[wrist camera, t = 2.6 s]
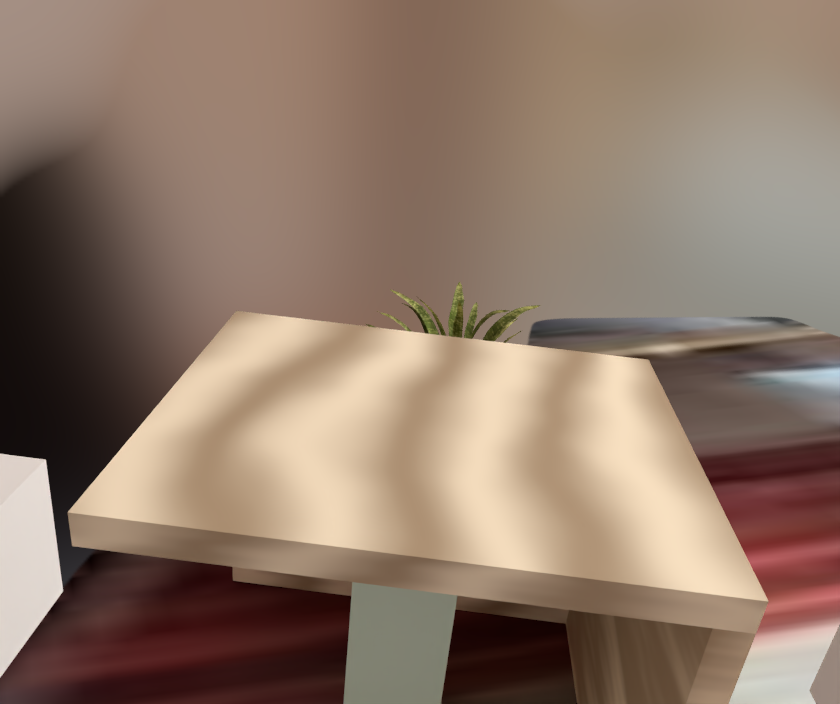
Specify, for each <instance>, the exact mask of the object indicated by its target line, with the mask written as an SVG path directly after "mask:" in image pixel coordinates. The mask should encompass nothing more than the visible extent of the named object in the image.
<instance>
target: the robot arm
mask: <svg viewBox="0 0 840 704" xmlns="http://www.w3.org/2000/svg"><path fill="white" fill-rule="evenodd" d="M62 592H63V586H62V579H61V572H60V564H59V556H58V549H57V541H56V533H55V527H54V519H53V511H52V503H51V496H50V488H49V481H48V473H47V466H46V460H43V459H36V458H28V457H20V456H13V455H5V454H0V677H1V676H2V675H3V673H4V672H5V670H6V669H7V668H8V666H9V665H10V664H11V662H12V661H13V659H14V658H15V657H16V655H17V654H18V653H19V651H20V650H21V648H22V647H23V646H24V644H25V643H26V642H27V640H28V639H29V637H30V636H31V635H32V633H33V632H34V631H35V629H36V628H37V626H38V625H39V624H40V622H41V621H42V620H43V618H44V617H45V615H46V614H47V613H48V611H49V610H50V609H51V607H52V606H53V604H54V603H55V602H56V600H57V599H58V598H59V596H60V595H61V593H62ZM810 692H811V694H812V696H813V698H814V700H815V702H816V704H840V625H839V627H838V630H837V632H836V634H835V636H834V638H833V640H832V643H831V645H830V647H829V649H828V651H827V653H826V656H825V658H824V660H823V662H822V664H821V666H820V669H819V671H818V673H817V675H816V677H815V679H814V682H813V684H812V686H811V688H810Z"/></svg>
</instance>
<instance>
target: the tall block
mask: <svg viewBox="0 0 840 704" xmlns="http://www.w3.org/2000/svg"><path fill="white" fill-rule="evenodd" d="M456 602H457V595H449V594H441V593H433V592H426V591H418V590H410V589H402V588H395V587H387V586H379V585H371V584H363V583H356V582H352V595H351V608H350V622H349V635H348V649H347V662H346V676H345V690H344V703H343V704H441V699H442V693H443V686H444V680H445V673H446V667H447V660H448V654H449V647H450V641H451V634H452V628H453V621H454V615H455V608H456Z"/></svg>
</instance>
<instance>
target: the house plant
mask: <svg viewBox="0 0 840 704" xmlns="http://www.w3.org/2000/svg"><path fill="white" fill-rule="evenodd" d="M391 291H392V290H391ZM392 292H394V293H395V294H397V295H398V296H400V297H401V298H403V299H404V300H405V301H407V302H408V303H409V304H410V305H411V306H412V307H413V308H412V307H410V306H409V307H410V308H411V309H412V310H413V311H414V312H415V313H416V315H417V316H418V318H419V319H420V321H421V323H422V326H423V329H424V331H425V333H426V334H429V333H430V334H435V335H439V333H438V331H437V329H436V326H435V324H434V322H433V321H432V319H431V317H430V316H429V314H428V313H427V312H426V310H425V309H424V308H423V307H422V306H421V305H419V304H418V303H417V302H415V301H413V300H412V299H410V298H408V297H406V296H404V295H403V294H401V293H399V292H396V291H392ZM422 302H423V301H422ZM423 303H424V302H423ZM463 303H464V299H463V292H462V285H461V284H460V282H459V283H458V285H457V287H456V291H455V294H454V299H453V304H452V308H451V312H450V317H449V336H451V337H460V338H462V327H463ZM424 304H425V303H424ZM405 305H406V304H405ZM425 305H426V304H425ZM407 306H408V305H407ZM426 306H427V305H426ZM477 306H478V305H477V303H476V304H474V306H473V308H472V310H471V313H470V316H469V320H468V323H467V326H466V330H465V335H464V338H468V339H472V338H473V337H474V335H475V333H476V331H477V330H478V329H479V327H480V326H481V325H482V324H483V323H484V322H485V321H486V320H487V319H488V318H489V317H491V316H492V315H494V314H496V313H501V312H507V311H506V310H498V311H493V312H491V313H489V314H487V315H486V316H485V317H484V318H483V319H481V321H480V322H479V323H478V325H477V326H476V328H475V329H474V331H473V328H474V325H475V321H476V318H477ZM427 307H428V306H427ZM537 307H539V306H526V307H521V308H518V309H515V310H513V311H511V312H509V313H507V314H506V315H505V316H503V317H502V318H500V319H499V320H498V321H497V322H496V323H495V324H494V325H493V326H492V327H491V328H490V329H489V330H488V332H487V333H486V335H485V337H484V339H483V340H485V341H495V340H496V339H497V338H498V337H499V336H500V335H501V334H502V333H503V332H504V331H505V330H506V329H507V328H508V327H509V326H510V325H511V324H512V323H513V322H514V321H516V320H517V319H516V320H514V319H515V318H516V317H518V316H519V315H520V314H522V313H523V312H525V311H527V310H530V309H534V308H537ZM428 308H429V307H428ZM429 310H430V311H431V312H432V313H433V316H434V318H435V320H436V322H437V324H438V327H439V329H440V332H441V335H443V336H446V335H445V332H444V330H443V327H442V324H441V323H440V321H439V319H438V318H437V316H436V315H435V313H434V312H433V311H432V310H431V309H430V308H429ZM382 314H384V315H386V316H388V317H390V318H392V319H393V320H395V321H396V322H397V323H399V324H400V325H401V326H403V327H404V328H405V329H406V330H407V331H409V332H412V331H411V330H410V329H409V328H408V327H407V326H406V325H404V324H403V323H402V322H400V321H399V320H398V319H396V318H395V317H393V316H391V315H389V314H385V313H382ZM513 320H514V321H513ZM511 321H512V322H511ZM510 322H511V323H510ZM368 326H369V327H374V326H371V325H368ZM375 328H376V327H375ZM427 329H428V330H427ZM428 331H429V333H428ZM472 332H473V333H472ZM520 332H521V331H520ZM515 335H516V334H515ZM515 335H513V336H515ZM513 336H511V337H509V338H508V339H507V340H505V341H504V342H503V343H506V342H507V341H508V340H509V339H510V338H512V337H513Z"/></svg>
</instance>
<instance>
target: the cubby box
mask: <svg viewBox="0 0 840 704" xmlns="http://www.w3.org/2000/svg"><path fill="white" fill-rule="evenodd" d="M68 518H69V526H70V533H71V540H72V546H76V547H83V548H91V549H99V550H107V551H114V552H122V553H130V554H138V555H146V556H153V557H161V558H169V559H177V560H184V561H192V562H200V563H208V564H216V565H223V566H231V567H233V581H238V582H246V583H254V584H262V585H269V586H277V587H285V588H293V589H300V590H308V591H316V592H324V593H331V594H339V595H347V596H351V595H352V582H356V583H363V584H371V585H379V586H387V587H395V588H402V589H410V590H418V591H426V592H433V593H441V594H449V595H457V602H456V608H455V610H463V611H471V612H479V613H486V614H494V615H502V616H510V617H517V618H525V619H533V620H541V621H548V622H556V623H564V624H566V629H567V637H568V644H569V651H570V658H571V665H572V672H573V679H574V686H575V693H576V700H577V704H728V703H729V701H730V698H731V696H732V693H733V691H734V688H735V685H736V683H737V680H738V678H739V675H740V673H741V670H742V668H743V665H744V663H745V660H746V657H747V655H748V652H749V650H750V647H751V645H752V642H753V640H754V637H755V635H756V632H757V629H758V627H759V624H760V622H761V619H762V617H763V614H764V612H765V609H766V607H767V604H768V600H767V598H766V596H765V594H764V592H763V590H762V588H761V586H760V584H759V581H758V579H757V577H756V575H755V573H754V571H753V569H752V567H751V565H750V563H749V561H748V559H747V557H746V555H745V553H744V551H743V549H742V547H741V545H740V543H739V541H738V539H737V537H736V535H735V533H734V531H733V529H732V527H731V525H730V523H729V521H728V519H727V517H726V515H725V513H724V511H723V509H722V507H721V505H720V503H719V501H718V499H717V497H716V495H715V493H714V491H713V489H712V487H711V485H710V483H709V481H708V479H707V477H706V475H705V473H704V471H703V469H702V467H701V465H700V463H699V461H698V459H697V457H696V455H695V453H694V451H693V449H692V447H691V445H690V443H689V441H688V439H687V436H686V434H685V432H684V430H683V428H682V426H681V424H680V422H679V420H678V418H677V416H676V414H675V412H674V410H673V408H672V406H671V404H670V402H669V400H668V398H667V396H666V394H665V392H664V390H663V388H662V386H661V384H660V382H659V380H658V378H657V376H656V374H655V372H654V370H653V368H652V366H651V364H650V362H649V360H645V359H637V358H628V357H620V356H612V355H603V354H595V353H586V352H578V351H569V350H561V349H553V348H544V347H536V346H527V345H518V344H510V343H501V342H494V341H485V340H477V339H468V338H460V337H451V336H443V335H435V334H426V333H418V332H409V331H400V330H392V329H384V328H375V327H367V326H359V325H350V324H341V323H333V322H324V321H316V320H308V319H299V318H291V317H283V316H274V315H265V314H257V313H248V312H241V311H236V312H235V314H234V315H233V316H232V317H231V318H230V319H229V321H228V322H227V323H226V324H225V325H224V327H223V328H222V329H221V330H220V331H219V333H218V334H217V335H216V336H215V337H214V338H213V340H212V341H211V342H210V343H209V345H208V346H207V347H206V348H205V349H204V350H203V352H202V353H201V354H200V355H199V356H198V358H197V359H196V360H195V361H194V362H193V364H192V365H191V366H190V367H189V368H188V369H187V371H186V372H185V373H184V374H183V375H182V377H181V378H180V379H179V380H178V381H177V383H176V384H175V385H174V386H173V387H172V389H171V390H170V391H169V392H168V393H167V395H166V396H165V397H164V398H163V399H162V400H161V402H160V403H159V404H158V405H157V406H156V408H155V409H154V410H153V411H152V412H151V414H150V415H149V416H148V417H147V418H146V420H145V421H144V422H143V423H142V424H141V426H140V427H139V428H138V429H137V430H136V432H135V433H134V434H133V435H132V436H131V438H130V439H129V440H128V441H127V442H126V443H125V445H124V446H123V447H122V448H121V450H120V451H119V452H118V453H117V454H116V455H115V457H114V458H113V459H112V460H111V461H110V463H109V464H108V465H107V466H106V467H105V468H104V470H103V471H102V472H101V473H100V475H99V476H98V477H97V478H96V479H95V480H94V482H93V483H92V484H91V485H90V487H89V488H88V489H87V490H86V491H85V493H84V494H83V495H82V496H81V497H80V498H79V500H78V501H77V502H76V503H75V504H74V506H73V507H72V508H71V509H70V510H69V511H68Z"/></svg>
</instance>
